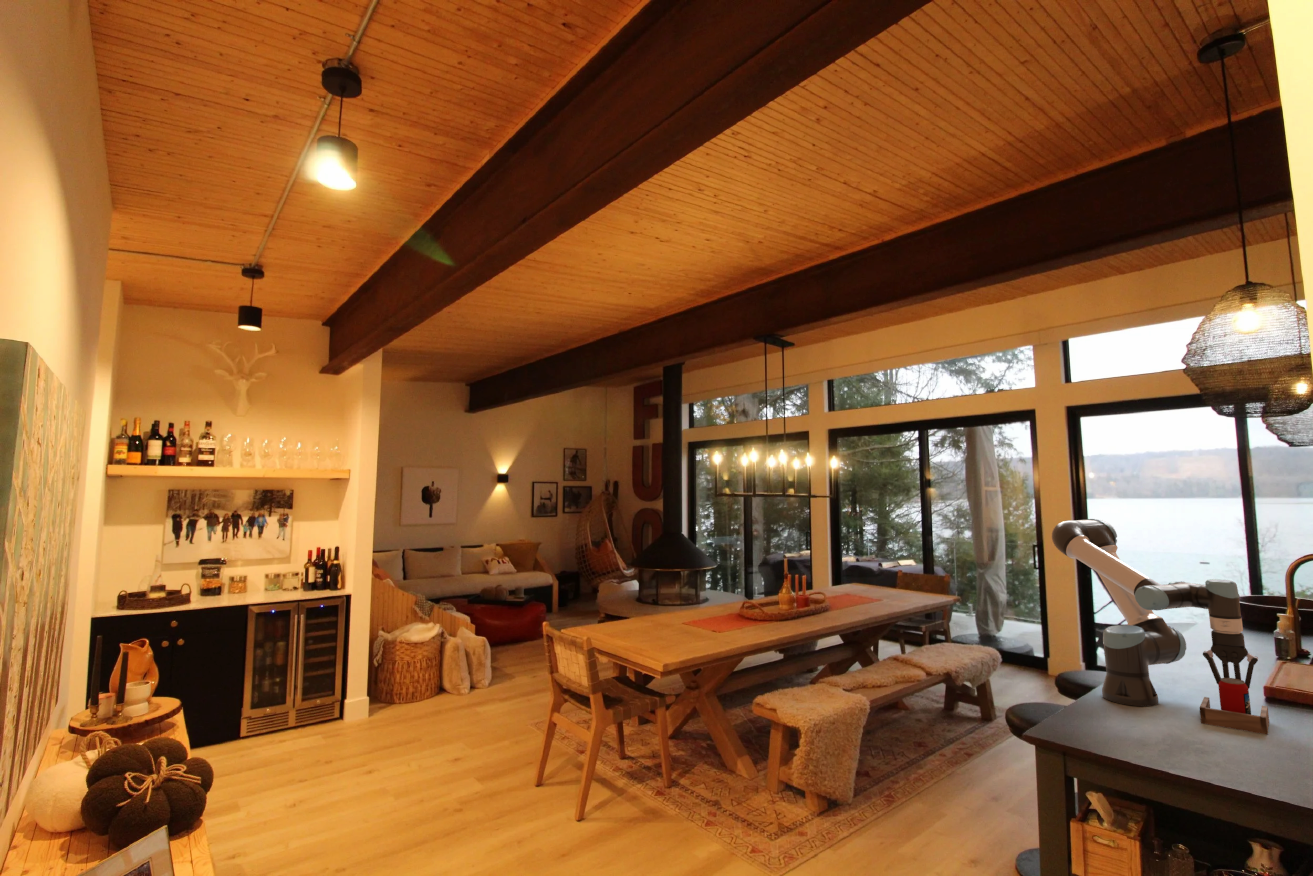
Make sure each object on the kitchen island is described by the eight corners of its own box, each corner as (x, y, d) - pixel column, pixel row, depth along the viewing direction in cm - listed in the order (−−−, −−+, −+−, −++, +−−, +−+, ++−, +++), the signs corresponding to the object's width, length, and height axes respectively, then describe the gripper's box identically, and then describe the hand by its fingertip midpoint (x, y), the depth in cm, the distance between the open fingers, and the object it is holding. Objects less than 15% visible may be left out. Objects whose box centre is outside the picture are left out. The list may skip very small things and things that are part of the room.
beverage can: (1258, 726, 187) (1253, 684, 188) (1230, 725, 189) (1226, 683, 190) (1243, 718, 194) (1238, 677, 195) (1216, 717, 195) (1212, 676, 196)
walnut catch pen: (1267, 734, 181) (1265, 718, 181) (1201, 723, 191) (1199, 707, 191) (1269, 722, 190) (1267, 706, 190) (1205, 711, 200) (1204, 696, 200)
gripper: (1197, 631, 199) (1206, 709, 197) (1255, 636, 190) (1265, 718, 188) (1200, 626, 204) (1209, 703, 202) (1256, 631, 195) (1266, 711, 193)
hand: (1236, 710), depth 195 cm, fingers closed
